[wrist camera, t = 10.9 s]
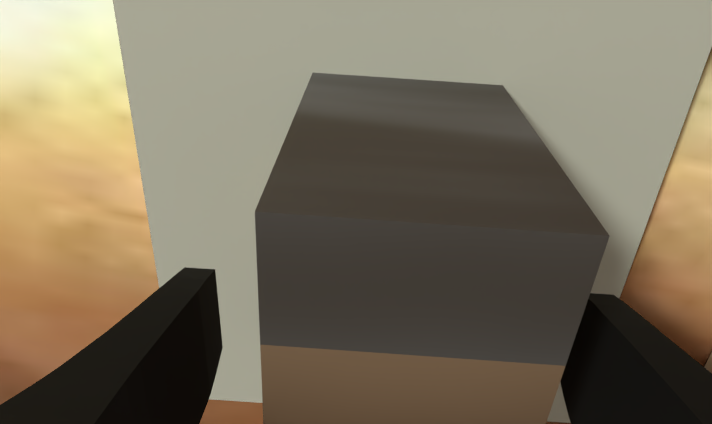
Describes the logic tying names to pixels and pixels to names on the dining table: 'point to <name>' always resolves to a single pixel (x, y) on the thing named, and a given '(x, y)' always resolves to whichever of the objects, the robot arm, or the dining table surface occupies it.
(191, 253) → the mat
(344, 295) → the block
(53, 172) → the dining table surface
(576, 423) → the robot arm
